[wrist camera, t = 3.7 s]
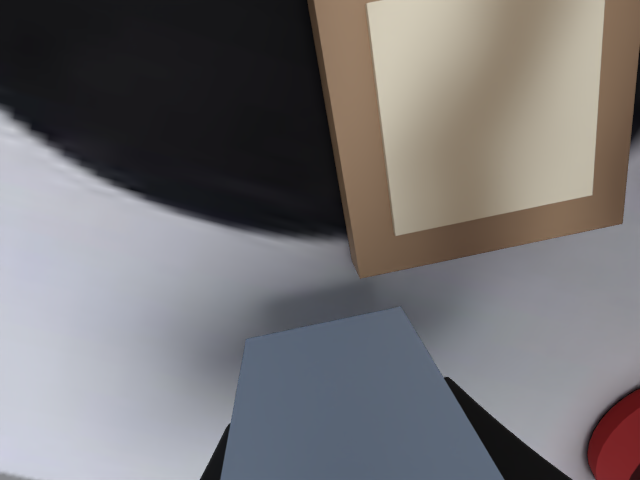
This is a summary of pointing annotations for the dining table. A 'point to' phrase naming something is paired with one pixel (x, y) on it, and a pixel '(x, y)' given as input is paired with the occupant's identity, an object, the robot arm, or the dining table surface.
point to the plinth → (475, 121)
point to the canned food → (617, 442)
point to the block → (349, 408)
